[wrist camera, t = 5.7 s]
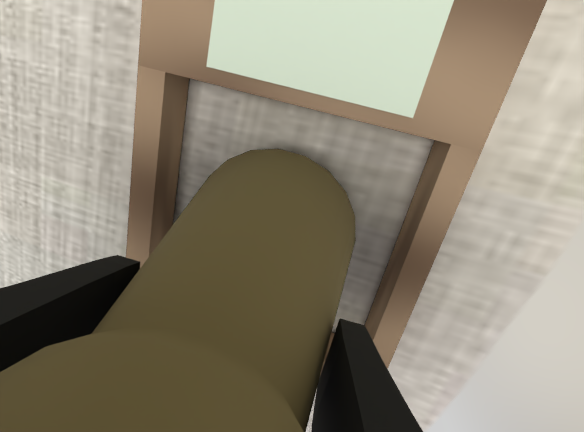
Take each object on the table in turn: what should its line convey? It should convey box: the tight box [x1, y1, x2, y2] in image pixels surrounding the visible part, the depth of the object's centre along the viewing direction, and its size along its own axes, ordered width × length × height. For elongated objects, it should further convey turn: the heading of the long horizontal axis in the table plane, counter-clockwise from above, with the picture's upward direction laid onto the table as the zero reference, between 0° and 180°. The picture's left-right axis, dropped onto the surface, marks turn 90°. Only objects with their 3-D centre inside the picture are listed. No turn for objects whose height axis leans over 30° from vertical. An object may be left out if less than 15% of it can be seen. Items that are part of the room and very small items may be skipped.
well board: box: [126, 0, 547, 375], centre depth 13 cm, size 20×12×2 cm, turn 167°
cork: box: [0, 149, 355, 432], centre depth 8 cm, size 6×6×11 cm
